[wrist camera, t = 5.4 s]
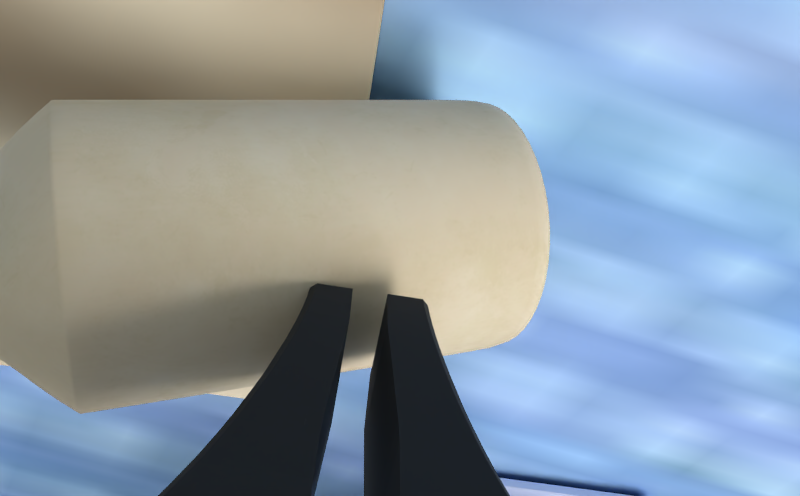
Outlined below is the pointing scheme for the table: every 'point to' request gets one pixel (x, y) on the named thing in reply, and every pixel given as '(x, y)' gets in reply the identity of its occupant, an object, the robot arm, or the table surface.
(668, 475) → the table surface
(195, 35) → the board
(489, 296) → the candle
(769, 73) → the table surface
